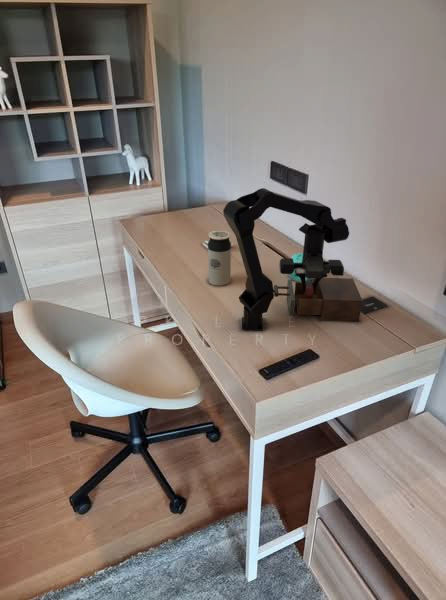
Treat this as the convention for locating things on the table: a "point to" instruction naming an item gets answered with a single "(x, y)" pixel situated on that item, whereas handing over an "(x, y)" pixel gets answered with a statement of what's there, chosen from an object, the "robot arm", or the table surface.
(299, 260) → the decorative dice
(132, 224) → the table surface
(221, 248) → the travel mug
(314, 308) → the drawer
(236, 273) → the table surface
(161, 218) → the table surface
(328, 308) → the cabinet
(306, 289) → the red usb flash drive
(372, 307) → the solid state drive
